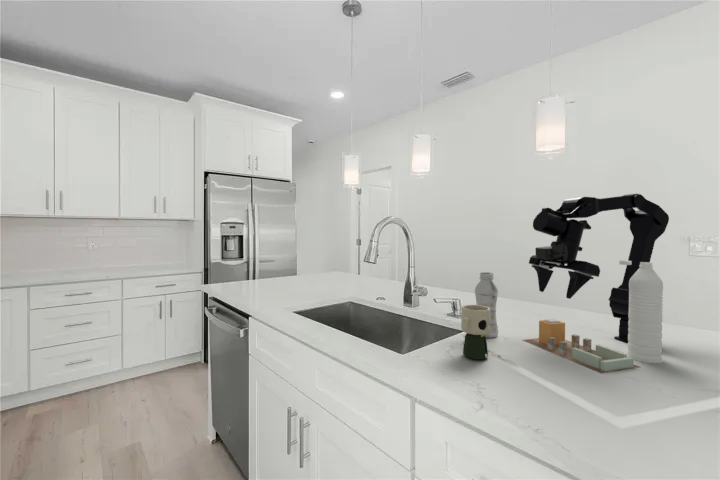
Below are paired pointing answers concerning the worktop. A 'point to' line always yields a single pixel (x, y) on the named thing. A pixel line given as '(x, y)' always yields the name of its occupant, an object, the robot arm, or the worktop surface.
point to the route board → (566, 350)
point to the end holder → (615, 357)
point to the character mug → (475, 330)
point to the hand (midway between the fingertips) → (554, 294)
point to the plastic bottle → (488, 300)
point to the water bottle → (645, 314)
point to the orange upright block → (551, 330)
